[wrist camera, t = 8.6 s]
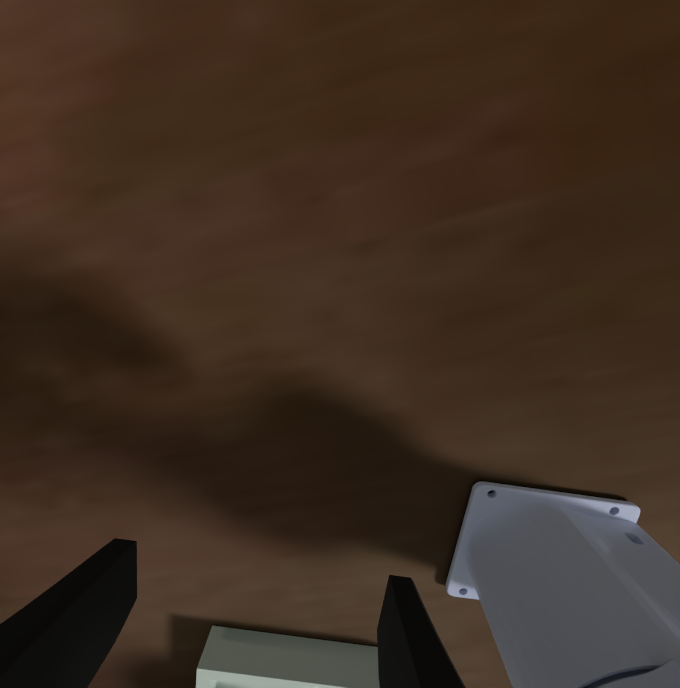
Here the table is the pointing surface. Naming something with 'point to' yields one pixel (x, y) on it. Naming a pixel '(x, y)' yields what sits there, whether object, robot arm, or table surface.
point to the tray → (283, 662)
